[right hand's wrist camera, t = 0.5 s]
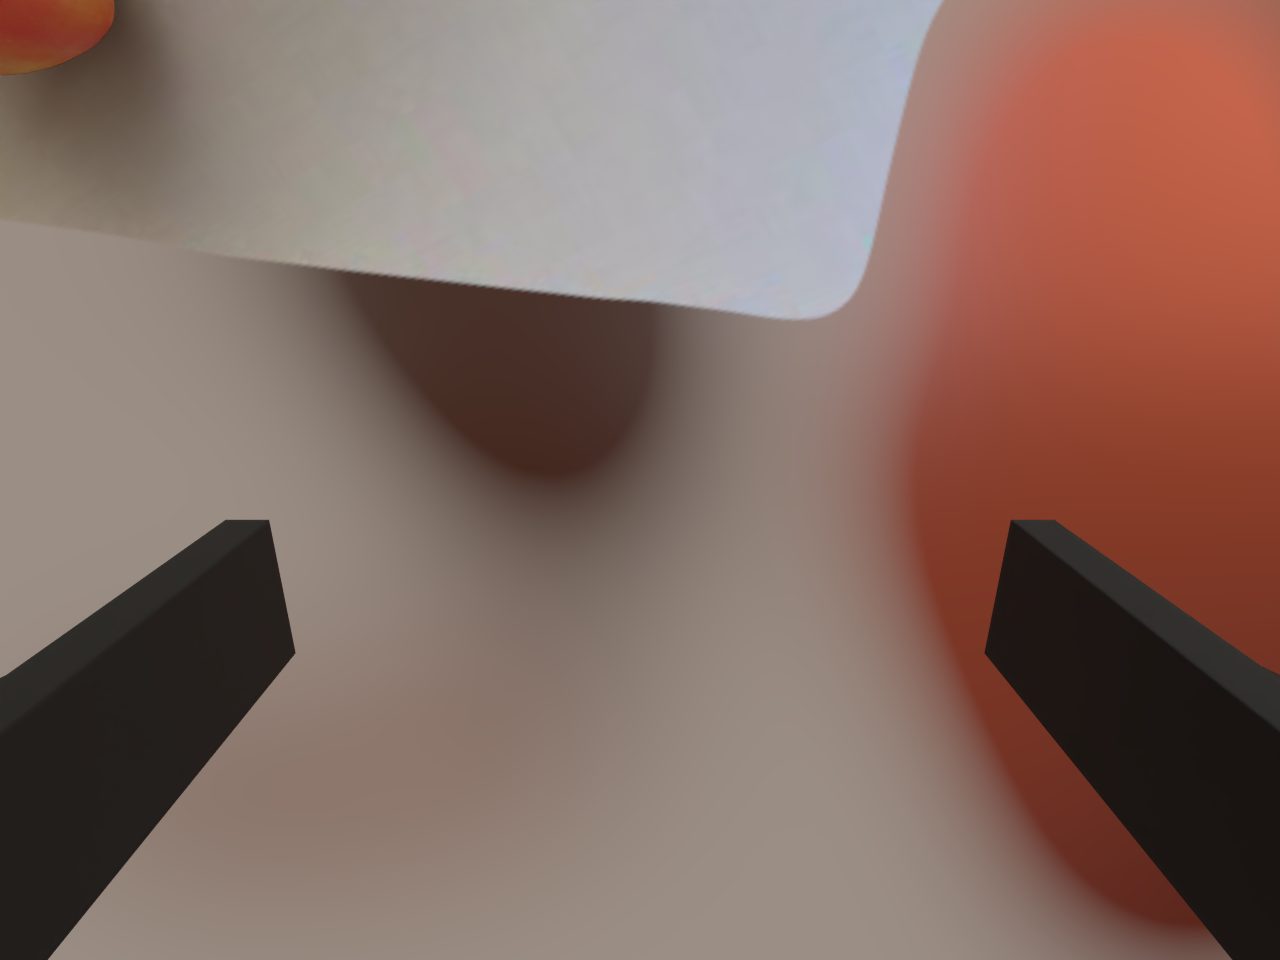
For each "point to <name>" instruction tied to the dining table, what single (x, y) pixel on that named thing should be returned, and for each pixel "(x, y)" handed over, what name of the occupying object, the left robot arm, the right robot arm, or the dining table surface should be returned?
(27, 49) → the apple
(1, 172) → the dining table surface
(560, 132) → the dining table surface
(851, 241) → the dining table surface
